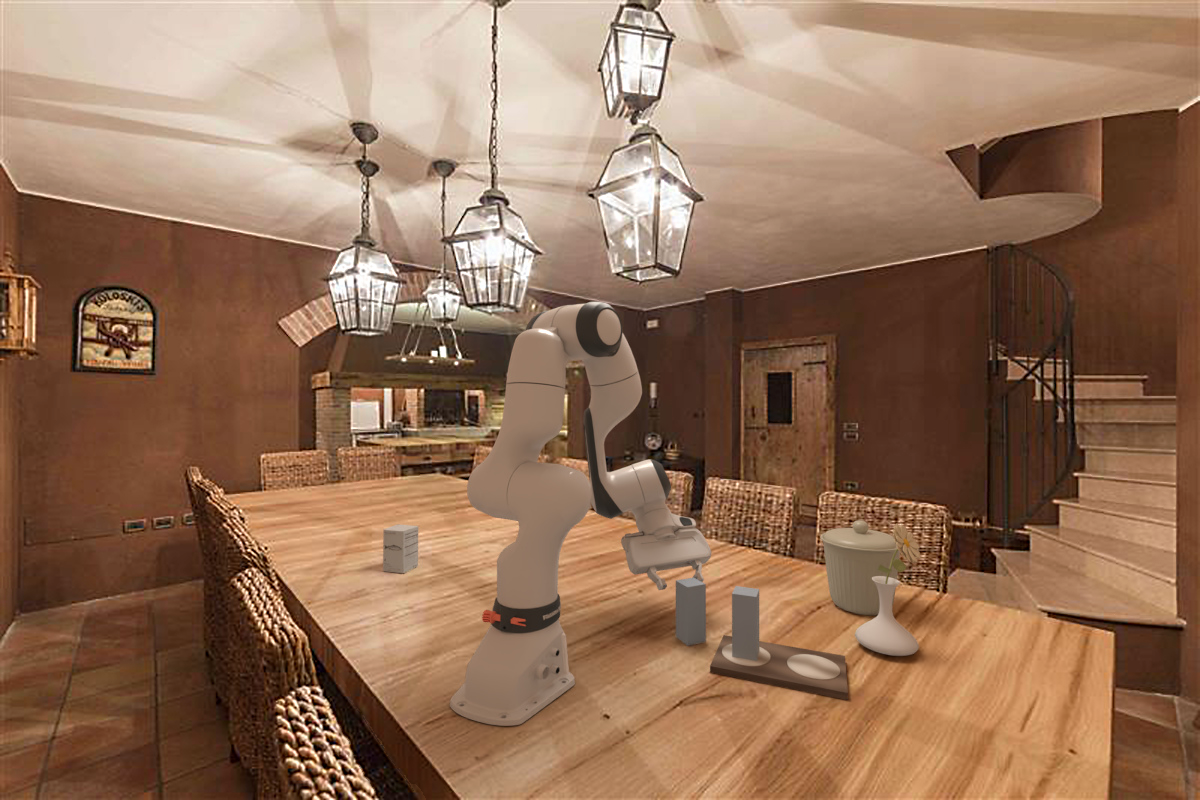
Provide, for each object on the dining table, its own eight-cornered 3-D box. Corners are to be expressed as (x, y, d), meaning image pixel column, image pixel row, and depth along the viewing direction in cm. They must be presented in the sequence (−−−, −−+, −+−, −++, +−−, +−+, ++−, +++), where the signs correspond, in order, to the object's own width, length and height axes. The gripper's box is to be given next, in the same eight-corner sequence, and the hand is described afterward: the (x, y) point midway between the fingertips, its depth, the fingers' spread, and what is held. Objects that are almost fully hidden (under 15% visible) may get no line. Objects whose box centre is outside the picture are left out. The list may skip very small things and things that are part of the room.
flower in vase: (885, 665, 99) (884, 533, 99) (842, 639, 110) (841, 520, 110) (939, 656, 103) (939, 528, 103) (893, 632, 114) (892, 516, 114)
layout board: (847, 700, 88) (847, 691, 88) (710, 672, 97) (710, 664, 97) (844, 662, 100) (844, 654, 100) (723, 640, 110) (723, 634, 110)
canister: (921, 623, 118) (920, 529, 118) (841, 623, 118) (840, 529, 118) (878, 593, 136) (877, 512, 136) (808, 594, 136) (808, 513, 136)
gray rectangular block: (705, 641, 109) (705, 584, 109) (687, 645, 107) (687, 587, 107) (693, 633, 113) (693, 577, 113) (675, 636, 111) (675, 580, 111)
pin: (756, 661, 98) (756, 596, 98) (732, 656, 100) (731, 593, 100) (759, 650, 102) (759, 589, 102) (735, 646, 104) (735, 585, 104)
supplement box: (382, 572, 155) (382, 529, 155) (398, 564, 162) (398, 523, 162) (403, 574, 153) (403, 530, 153) (419, 566, 160) (419, 525, 160)
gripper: (623, 527, 116) (644, 585, 107) (699, 518, 124) (726, 571, 116) (614, 542, 120) (634, 599, 111) (689, 532, 129) (713, 585, 120)
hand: (681, 585), depth 113 cm, fingers open, 8 cm apart
